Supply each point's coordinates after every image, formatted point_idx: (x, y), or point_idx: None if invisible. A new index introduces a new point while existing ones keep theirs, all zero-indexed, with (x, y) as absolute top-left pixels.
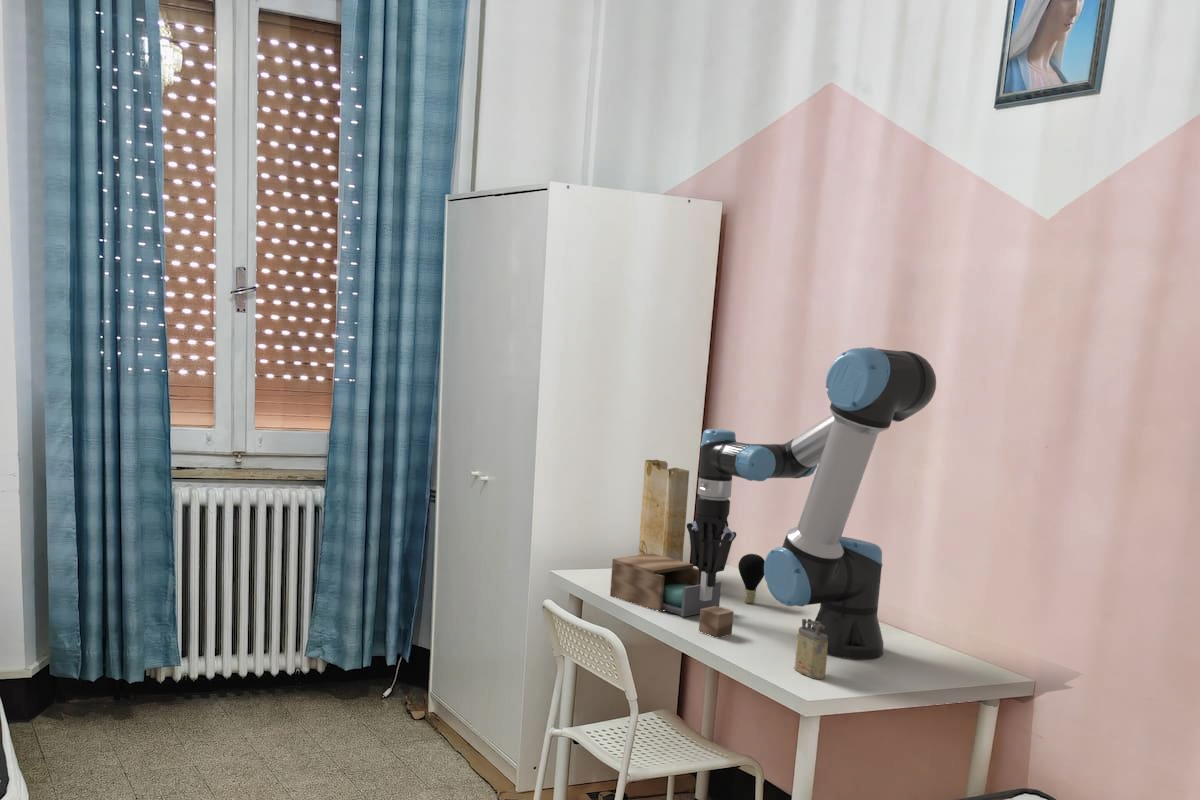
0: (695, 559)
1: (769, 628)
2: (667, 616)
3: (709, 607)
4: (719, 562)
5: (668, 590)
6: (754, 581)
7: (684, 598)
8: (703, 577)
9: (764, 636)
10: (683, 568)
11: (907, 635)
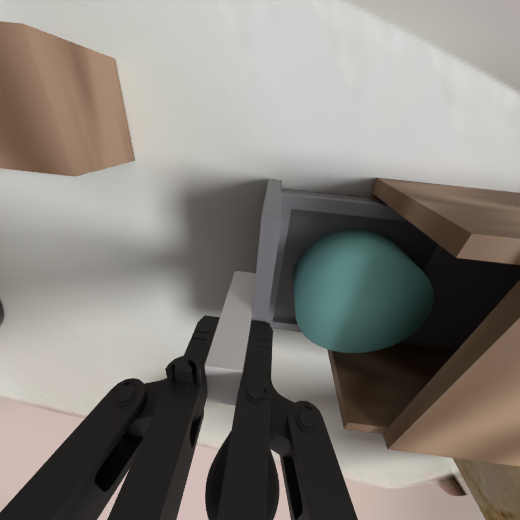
0: (301, 457)
1: (92, 286)
2: (324, 152)
3: (53, 121)
4: (53, 458)
5: (393, 256)
6: (228, 438)
7: (267, 198)
8: (229, 342)
9: (29, 220)
10: (409, 410)
11: (11, 392)
